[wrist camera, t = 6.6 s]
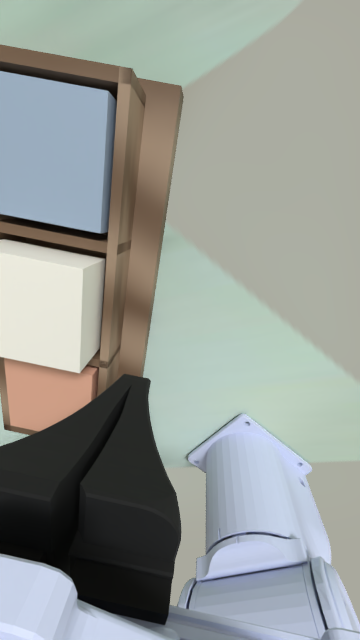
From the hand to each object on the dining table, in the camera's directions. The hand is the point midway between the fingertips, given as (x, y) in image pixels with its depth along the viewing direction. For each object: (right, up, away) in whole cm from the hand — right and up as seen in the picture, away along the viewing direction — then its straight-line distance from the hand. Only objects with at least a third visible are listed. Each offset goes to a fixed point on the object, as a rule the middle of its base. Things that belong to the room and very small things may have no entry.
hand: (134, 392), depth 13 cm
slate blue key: (-4, +13, +4) cm, 14 cm away
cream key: (-6, +5, +5) cm, 9 cm away
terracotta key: (-7, -1, +10) cm, 12 cm away
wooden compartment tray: (-6, +7, +8) cm, 12 cm away
